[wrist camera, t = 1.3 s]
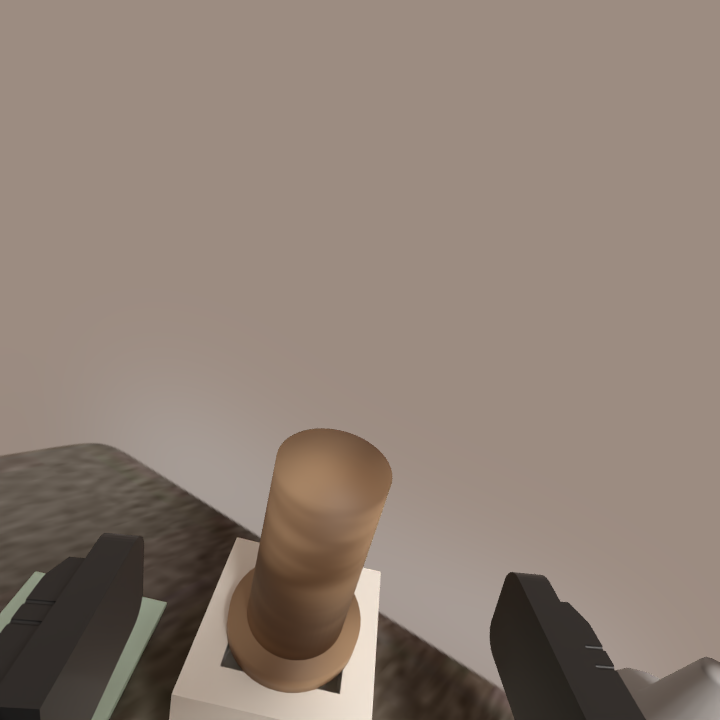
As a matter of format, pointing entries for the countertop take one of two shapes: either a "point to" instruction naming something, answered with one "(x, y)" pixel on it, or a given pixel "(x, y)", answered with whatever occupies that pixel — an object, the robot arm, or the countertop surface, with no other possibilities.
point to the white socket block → (253, 701)
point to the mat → (130, 655)
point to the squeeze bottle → (677, 692)
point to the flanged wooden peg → (309, 562)
